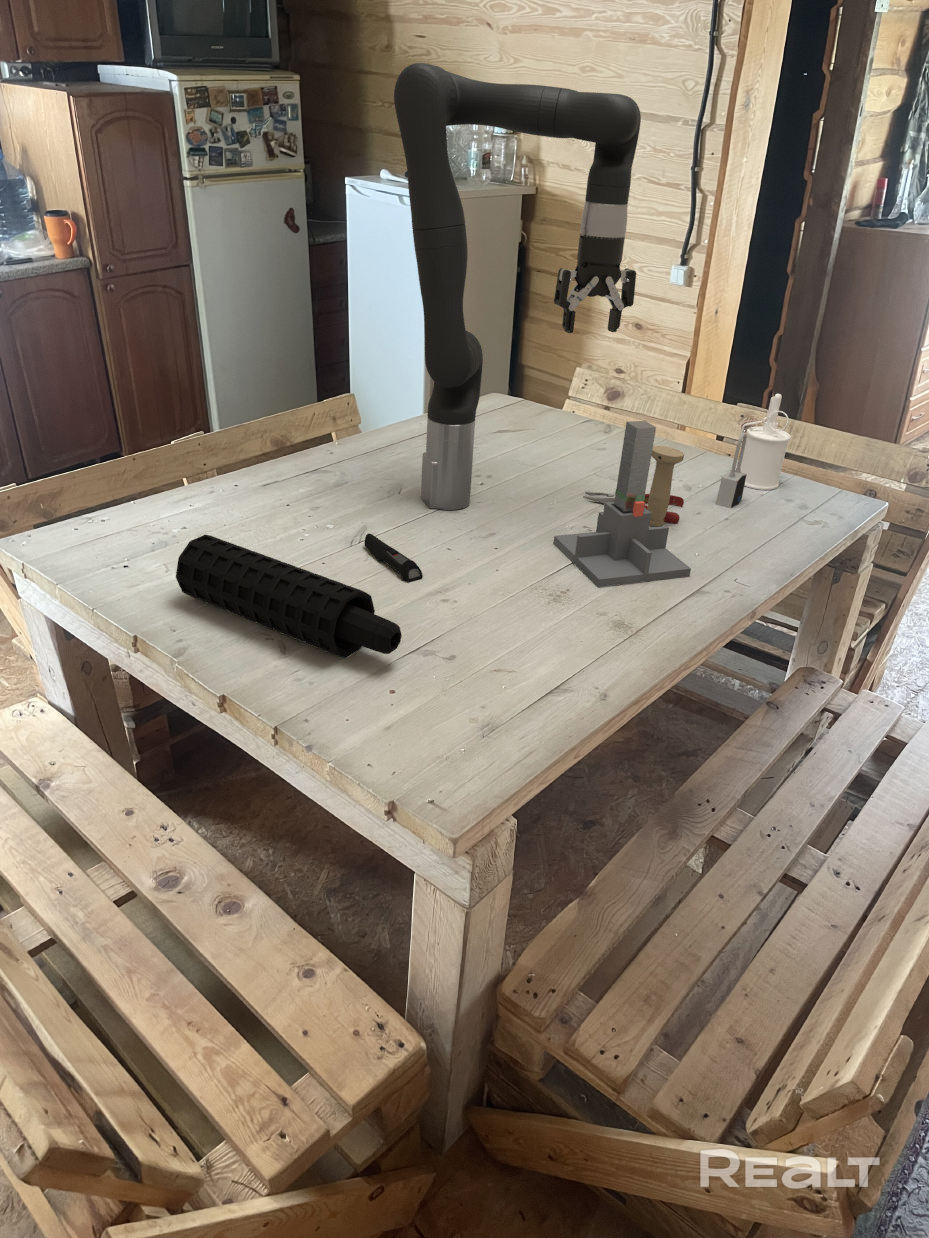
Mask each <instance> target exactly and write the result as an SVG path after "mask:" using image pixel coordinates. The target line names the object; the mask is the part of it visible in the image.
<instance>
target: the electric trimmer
mask: <svg viewBox="0 0 929 1238" xmlns="http://www.w3.org/2000/svg"><path fill="white" fill-rule="evenodd" d="M364 546H365V547H366V549H367V550H368V551H369V552H370V553H371V554H372V556H374V558H375V559H376V560H377V561H378V562H379V563H386V564H387V565H389V566H390V567H391V568H392V569H393V570H394V571H395V572H397V573H398V574H399V575H400V576H401V579H402V581H403V582H407V583H412V582H416V581H420V580H422V579H423V577H424V576H423V571H422V570H421V568H420V566H418V564H417V563H416V562H415V561H414V560H412V559H410V558H408V557H407V556H406V555H404V554H402V553H401V552H400V551H398V550H397V549H396V548H393V547H392V546H390V545H388V544H387V543H385V542H384V541H383V540H381V539H379V538H378V537H377V536H375V535H373V534H372V533H369V532H368V533H367V534H366V535H365V537H364Z"/></svg>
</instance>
